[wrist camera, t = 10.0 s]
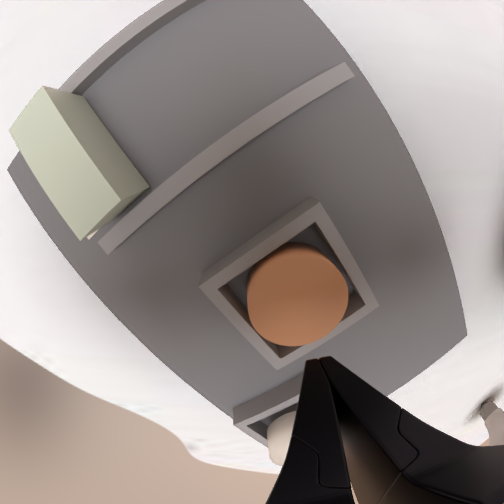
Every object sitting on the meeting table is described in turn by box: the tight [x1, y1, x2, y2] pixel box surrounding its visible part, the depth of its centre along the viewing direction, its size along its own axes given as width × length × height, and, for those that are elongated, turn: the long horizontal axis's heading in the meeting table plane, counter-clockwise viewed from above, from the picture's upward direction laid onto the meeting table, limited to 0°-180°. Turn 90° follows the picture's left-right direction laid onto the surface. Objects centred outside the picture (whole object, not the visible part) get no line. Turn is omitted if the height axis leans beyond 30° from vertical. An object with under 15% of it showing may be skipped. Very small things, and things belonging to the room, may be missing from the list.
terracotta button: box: [246, 242, 348, 346], centre depth 14 cm, size 5×5×2 cm
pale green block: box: [9, 86, 150, 241], centre depth 10 cm, size 2×6×4 cm, turn 36°
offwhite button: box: [267, 411, 296, 466], centre depth 16 cm, size 5×5×2 cm
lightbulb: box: [480, 401, 504, 446], centre depth 20 cm, size 6×6×11 cm
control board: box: [7, 0, 467, 447], centre depth 15 cm, size 18×28×4 cm, turn 36°
